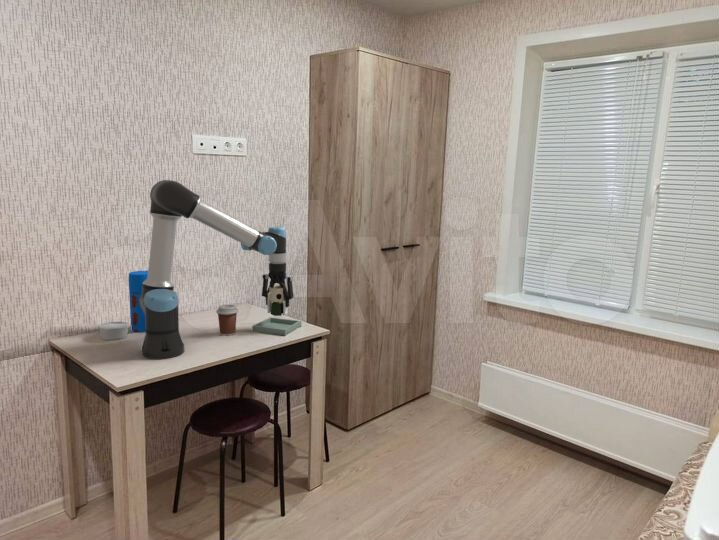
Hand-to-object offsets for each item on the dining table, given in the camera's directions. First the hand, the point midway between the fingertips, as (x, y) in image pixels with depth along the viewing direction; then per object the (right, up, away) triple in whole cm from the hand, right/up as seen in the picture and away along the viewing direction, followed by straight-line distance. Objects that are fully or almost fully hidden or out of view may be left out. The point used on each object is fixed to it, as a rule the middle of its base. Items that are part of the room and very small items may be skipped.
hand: (277, 313), depth 229 cm
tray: (0, -7, +1) cm, 7 cm away
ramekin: (-65, -9, -17) cm, 67 cm away
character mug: (0, -1, 0) cm, 1 cm away
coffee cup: (-20, -8, -8) cm, 23 cm away
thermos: (-57, -7, -5) cm, 58 cm away
